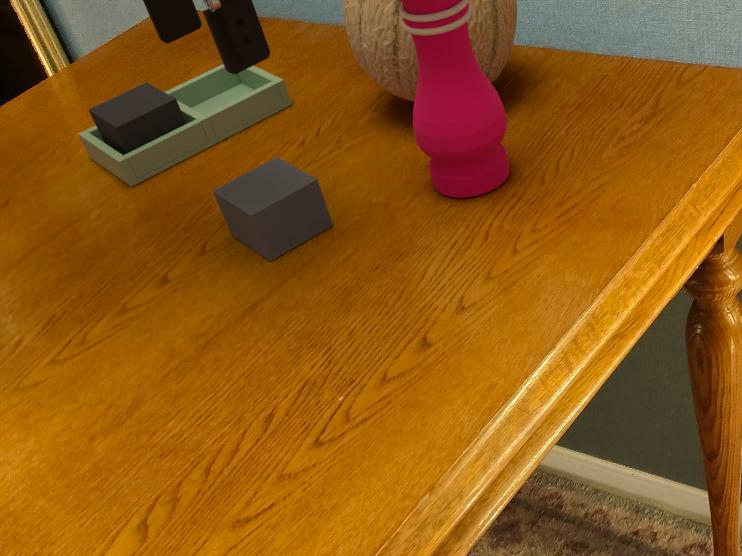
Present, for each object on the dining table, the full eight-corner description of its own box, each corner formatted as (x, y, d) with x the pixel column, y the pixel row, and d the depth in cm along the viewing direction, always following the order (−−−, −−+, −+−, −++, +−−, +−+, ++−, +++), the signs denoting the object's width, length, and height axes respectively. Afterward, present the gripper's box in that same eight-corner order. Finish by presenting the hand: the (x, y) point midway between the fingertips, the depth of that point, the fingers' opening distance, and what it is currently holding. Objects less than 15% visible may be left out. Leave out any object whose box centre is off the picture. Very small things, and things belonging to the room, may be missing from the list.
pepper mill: (415, 173, 82) (344, -102, 67) (496, 145, 83) (443, -132, 68) (444, 212, 77) (374, -74, 62) (529, 181, 78) (480, -107, 64)
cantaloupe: (342, 104, 93) (287, -75, 81) (470, 43, 97) (435, -135, 86) (425, 155, 84) (377, -38, 73) (563, 86, 88) (537, -106, 77)
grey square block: (269, 262, 76) (250, 215, 74) (231, 236, 80) (212, 190, 77) (333, 225, 79) (317, 178, 76) (293, 202, 82) (277, 156, 79)
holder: (131, 187, 88) (118, 161, 86) (90, 158, 93) (77, 133, 91) (292, 104, 94) (283, 79, 92) (245, 81, 99) (236, 57, 97)
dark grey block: (136, 170, 89) (115, 127, 86) (108, 151, 93) (87, 109, 90) (194, 141, 91) (176, 98, 88) (165, 123, 95) (146, 81, 92)
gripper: (-23, -245, 60) (114, 46, 72) (93, -230, 50) (229, 103, 63) (89, -283, 62) (203, 4, 75) (221, -276, 52) (326, 54, 65)
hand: (214, 49), depth 69 cm, fingers open, 9 cm apart
